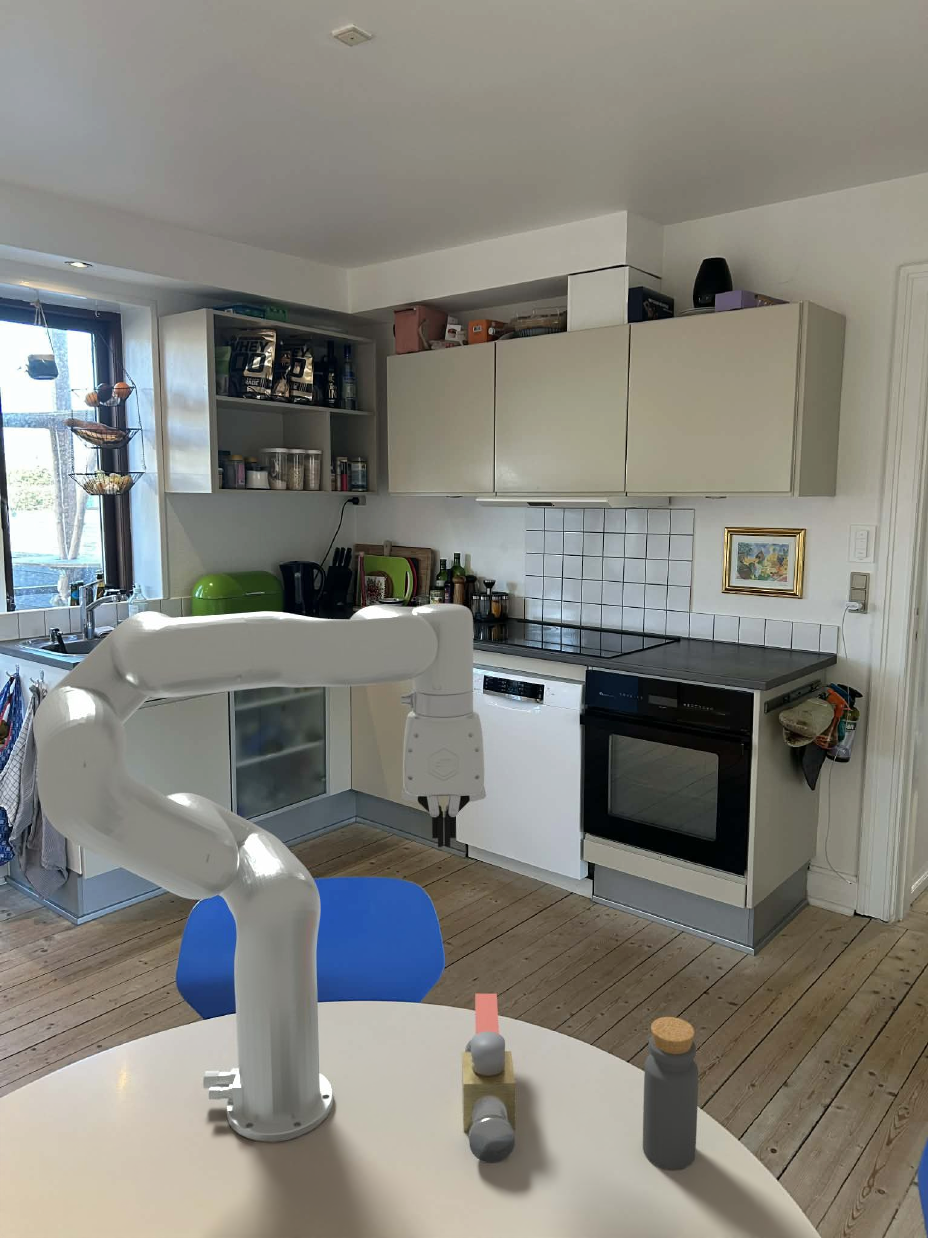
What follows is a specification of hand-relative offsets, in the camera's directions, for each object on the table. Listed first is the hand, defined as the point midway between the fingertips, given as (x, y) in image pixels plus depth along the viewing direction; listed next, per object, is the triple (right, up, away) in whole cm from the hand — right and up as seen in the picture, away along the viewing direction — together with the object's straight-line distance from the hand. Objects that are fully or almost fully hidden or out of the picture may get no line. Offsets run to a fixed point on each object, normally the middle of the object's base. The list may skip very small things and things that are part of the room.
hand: (443, 843), depth 117 cm
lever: (+5, -23, -4) cm, 24 cm away
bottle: (+26, -32, -14) cm, 43 cm away
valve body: (+5, -30, -8) cm, 32 cm away
